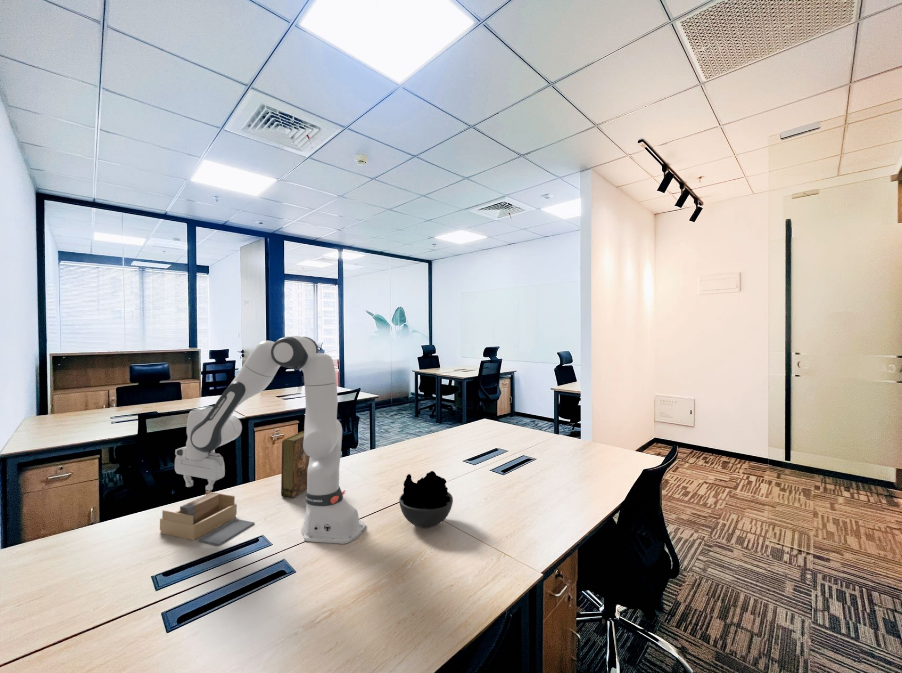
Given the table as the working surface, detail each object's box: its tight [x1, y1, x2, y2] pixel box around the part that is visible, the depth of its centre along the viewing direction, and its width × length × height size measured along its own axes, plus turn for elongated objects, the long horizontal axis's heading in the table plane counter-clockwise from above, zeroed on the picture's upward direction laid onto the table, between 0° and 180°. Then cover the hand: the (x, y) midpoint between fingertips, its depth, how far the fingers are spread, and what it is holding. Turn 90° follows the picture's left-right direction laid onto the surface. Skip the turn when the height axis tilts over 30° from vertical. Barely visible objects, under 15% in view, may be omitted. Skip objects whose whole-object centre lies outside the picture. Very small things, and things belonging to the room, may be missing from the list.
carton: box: [159, 490, 238, 541], centre depth 136 cm, size 16×17×8 cm
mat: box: [197, 518, 255, 547], centre depth 131 cm, size 9×15×1 cm, turn 164°
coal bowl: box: [398, 470, 454, 529], centre depth 139 cm, size 20×20×19 cm
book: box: [280, 430, 310, 499], centre depth 167 cm, size 16×6×25 cm, turn 168°
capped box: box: [179, 492, 219, 525], centre depth 136 cm, size 4×12×9 cm, turn 164°
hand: (199, 488), depth 136 cm, fingers open, 8 cm apart
